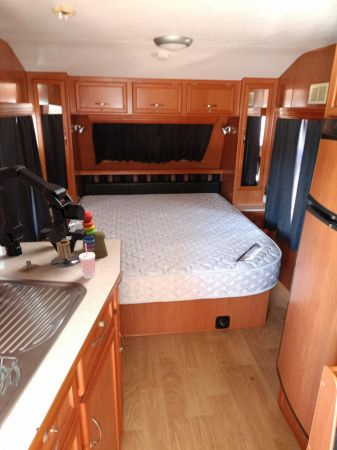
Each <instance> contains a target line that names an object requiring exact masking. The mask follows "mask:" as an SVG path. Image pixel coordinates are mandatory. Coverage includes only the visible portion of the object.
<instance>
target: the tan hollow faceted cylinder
mask: <svg viewBox="0 0 337 450" xmlns="http://www.w3.org/2000/svg"><path fill="white" fill-rule="evenodd" d="M69 240H70V239H69ZM69 240H62V241H61V242H57V243H56V246H57V252H58V253H57V252H56V253H57V256H58V257H59V258H61V259H64V258H69V257H71V256H72V255H73V254H74V252H73V253H71V245H70V242H69Z"/></svg>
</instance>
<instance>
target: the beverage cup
mask: <svg viewBox="0 0 337 450" xmlns="http://www.w3.org/2000/svg"><path fill="white" fill-rule="evenodd" d="M85 249H86V251H84V252H83V253H80V254H78V255H79V259H80V261H81V262H80V266H81V271H82V274H83V275H82V276H83V278H84V279H86V278H90V279H93V278H95V277H96V261H95V260H96V259H95V257H96V255H95V253H94V251H93V252H87V246H86V243H85Z"/></svg>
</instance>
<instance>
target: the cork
mask: <svg viewBox="0 0 337 450" xmlns="http://www.w3.org/2000/svg"><path fill="white" fill-rule="evenodd" d="M105 238H106V234H105V232H104V231H99V230H98V231H96V232H95V233H94V234H93V239H94V240H95V247H94V251H93V253H95V258H96V259H105V258H107V257H108V255H109V253H108V249H107V245H106V239H105Z"/></svg>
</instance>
